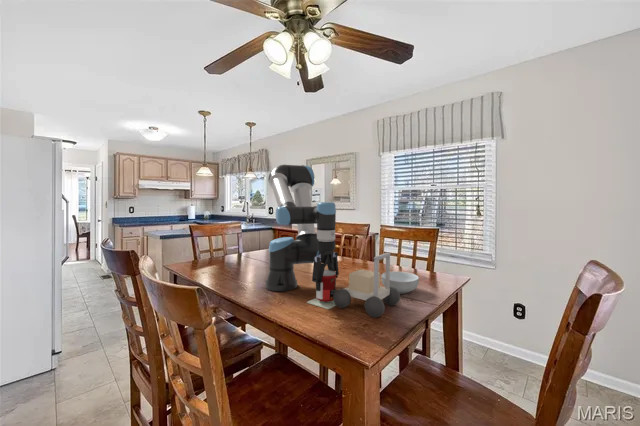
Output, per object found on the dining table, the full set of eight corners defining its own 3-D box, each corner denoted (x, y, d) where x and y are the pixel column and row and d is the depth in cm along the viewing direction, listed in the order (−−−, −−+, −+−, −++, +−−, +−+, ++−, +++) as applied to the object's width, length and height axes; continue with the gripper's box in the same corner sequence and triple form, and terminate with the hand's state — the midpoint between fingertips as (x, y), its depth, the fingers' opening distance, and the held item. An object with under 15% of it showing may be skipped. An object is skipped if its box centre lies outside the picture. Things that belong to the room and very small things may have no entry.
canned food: (334, 302, 109) (334, 275, 108) (314, 301, 111) (314, 273, 110) (337, 296, 116) (337, 270, 116) (318, 294, 118) (318, 269, 118)
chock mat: (306, 302, 113) (306, 301, 113) (323, 295, 121) (323, 294, 121) (328, 309, 106) (328, 308, 106) (344, 301, 115) (344, 300, 115)
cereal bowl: (381, 284, 139) (381, 270, 138) (415, 286, 135) (416, 272, 135) (381, 295, 122) (381, 279, 122) (421, 298, 119) (421, 282, 118)
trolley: (333, 305, 110) (333, 252, 109) (354, 294, 123) (355, 246, 122) (382, 319, 97) (383, 259, 96) (400, 305, 110) (401, 252, 109)
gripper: (317, 244, 102) (317, 305, 103) (347, 238, 118) (347, 291, 119) (302, 242, 107) (302, 300, 108) (333, 236, 123) (332, 287, 124)
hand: (325, 295), depth 114 cm, fingers closed on canned food, 8 cm apart
